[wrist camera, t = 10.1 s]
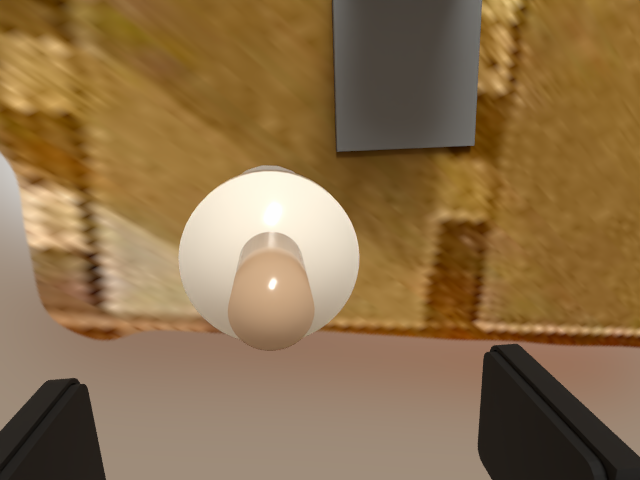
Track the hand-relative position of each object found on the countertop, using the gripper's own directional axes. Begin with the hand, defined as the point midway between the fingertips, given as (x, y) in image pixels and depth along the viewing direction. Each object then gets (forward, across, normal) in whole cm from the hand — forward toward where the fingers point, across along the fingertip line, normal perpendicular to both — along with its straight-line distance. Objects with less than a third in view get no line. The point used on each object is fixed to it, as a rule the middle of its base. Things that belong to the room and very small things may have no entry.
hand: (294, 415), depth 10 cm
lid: (+14, +1, 0) cm, 14 cm away
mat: (+26, -10, -10) cm, 29 cm away
